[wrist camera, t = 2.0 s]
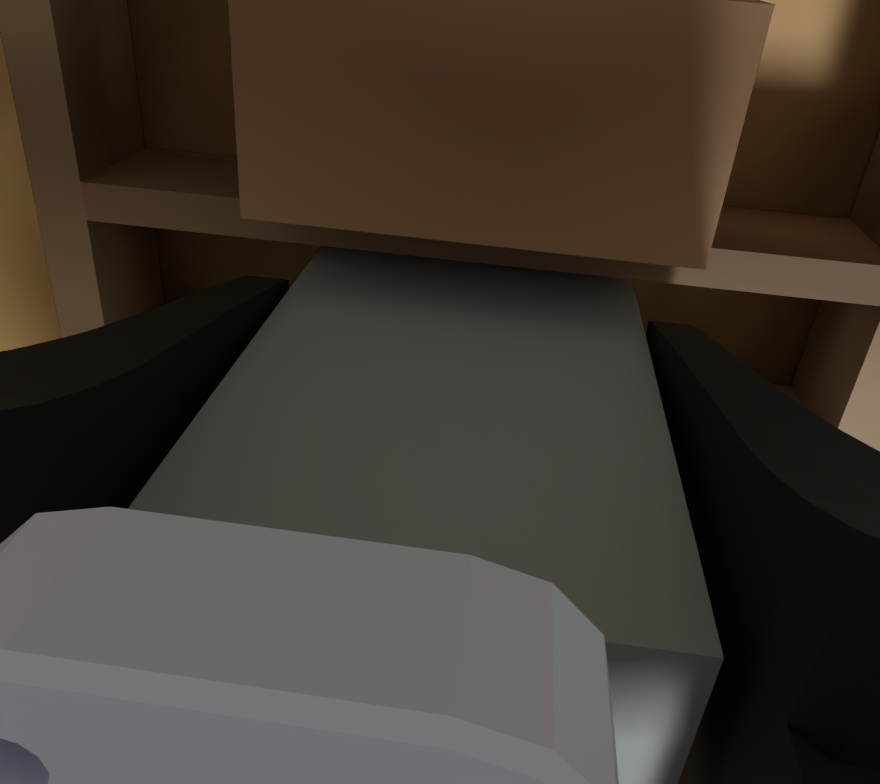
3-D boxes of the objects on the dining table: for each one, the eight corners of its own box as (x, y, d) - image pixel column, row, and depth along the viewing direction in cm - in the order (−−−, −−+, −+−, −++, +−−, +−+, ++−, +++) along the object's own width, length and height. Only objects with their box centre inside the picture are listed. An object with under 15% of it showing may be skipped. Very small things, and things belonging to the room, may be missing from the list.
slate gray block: (603, 349, 15) (666, 813, 7) (341, 319, 15) (119, 728, 7) (624, 247, 14) (724, 659, 6) (341, 217, 14) (82, 568, 6)
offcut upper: (681, 220, 12) (705, 269, 10) (285, 178, 12) (240, 218, 10) (735, -7, 10) (774, 4, 8) (278, -46, 10) (225, -44, 9)
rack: (825, 419, 15) (865, 489, 13) (130, 336, 16) (73, 392, 14) (1026, -110, 10) (1131, -120, 9) (51, -180, 11) (-47, -201, 9)
